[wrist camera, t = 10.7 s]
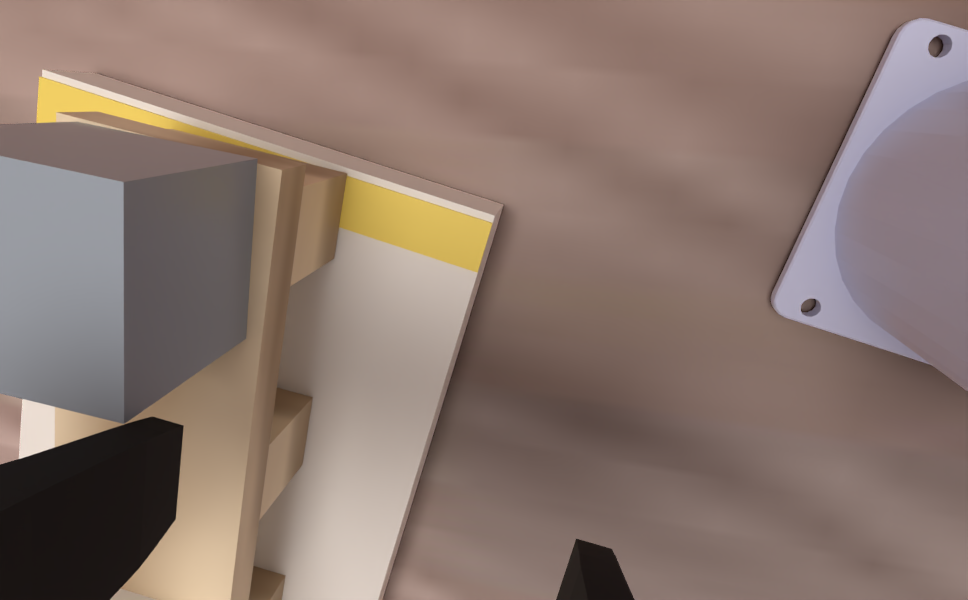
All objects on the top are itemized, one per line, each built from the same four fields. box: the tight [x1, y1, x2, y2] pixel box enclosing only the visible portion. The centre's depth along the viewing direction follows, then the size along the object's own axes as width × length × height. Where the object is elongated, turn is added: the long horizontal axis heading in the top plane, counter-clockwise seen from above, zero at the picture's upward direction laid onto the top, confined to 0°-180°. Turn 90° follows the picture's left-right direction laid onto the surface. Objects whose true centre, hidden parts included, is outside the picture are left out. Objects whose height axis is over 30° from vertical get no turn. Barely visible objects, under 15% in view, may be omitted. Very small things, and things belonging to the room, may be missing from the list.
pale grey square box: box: [0, 121, 257, 424], centre depth 12 cm, size 4×4×4 cm
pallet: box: [55, 111, 347, 600], centre depth 18 cm, size 5×17×4 cm, turn 167°
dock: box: [19, 69, 504, 600], centre depth 21 cm, size 13×17×2 cm
